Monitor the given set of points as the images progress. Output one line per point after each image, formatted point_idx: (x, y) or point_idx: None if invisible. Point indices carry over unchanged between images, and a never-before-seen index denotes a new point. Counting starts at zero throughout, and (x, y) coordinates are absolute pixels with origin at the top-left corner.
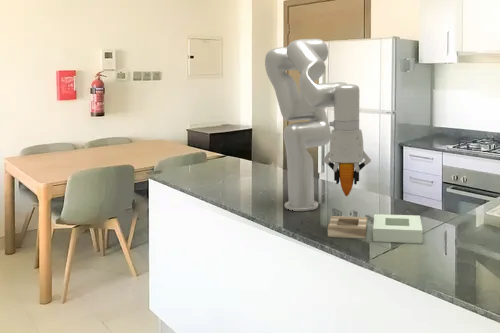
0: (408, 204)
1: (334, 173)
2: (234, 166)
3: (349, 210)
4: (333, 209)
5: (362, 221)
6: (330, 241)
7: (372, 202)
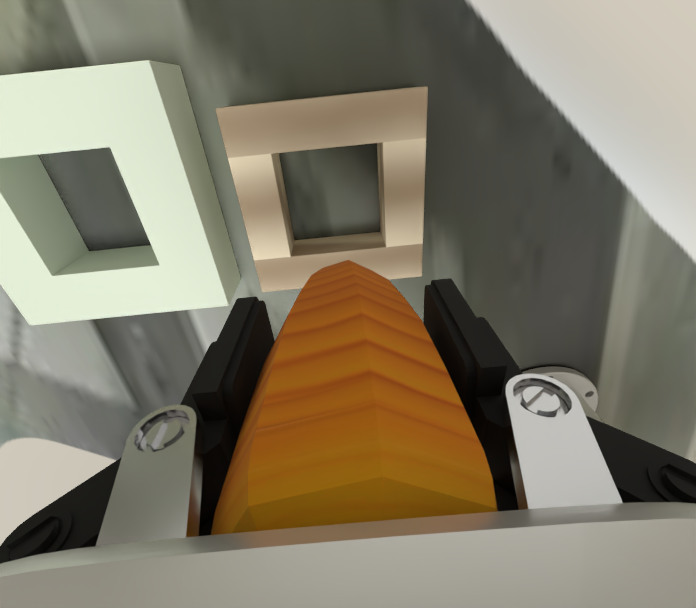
0: None
1: (514, 368)
2: None
3: None
4: None
5: (266, 230)
6: (394, 7)
7: None
